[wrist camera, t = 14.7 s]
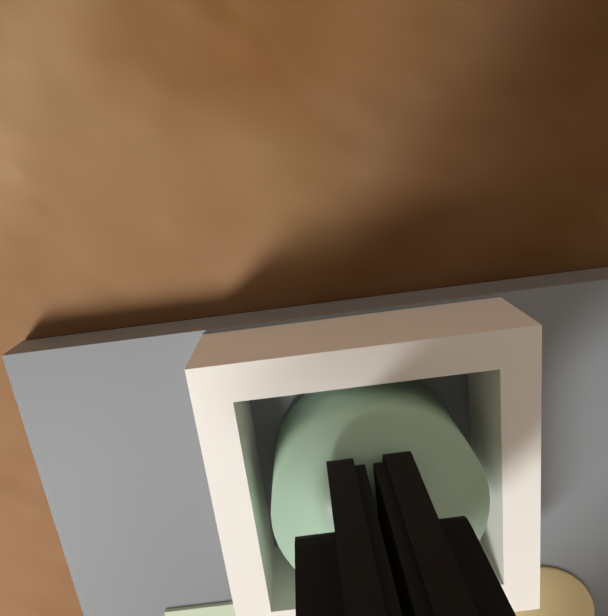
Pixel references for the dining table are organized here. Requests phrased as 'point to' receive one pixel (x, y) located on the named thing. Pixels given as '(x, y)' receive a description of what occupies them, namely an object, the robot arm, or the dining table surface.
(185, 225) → the dining table surface
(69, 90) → the dining table surface
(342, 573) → the robot arm
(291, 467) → the button
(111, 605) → the picture board
